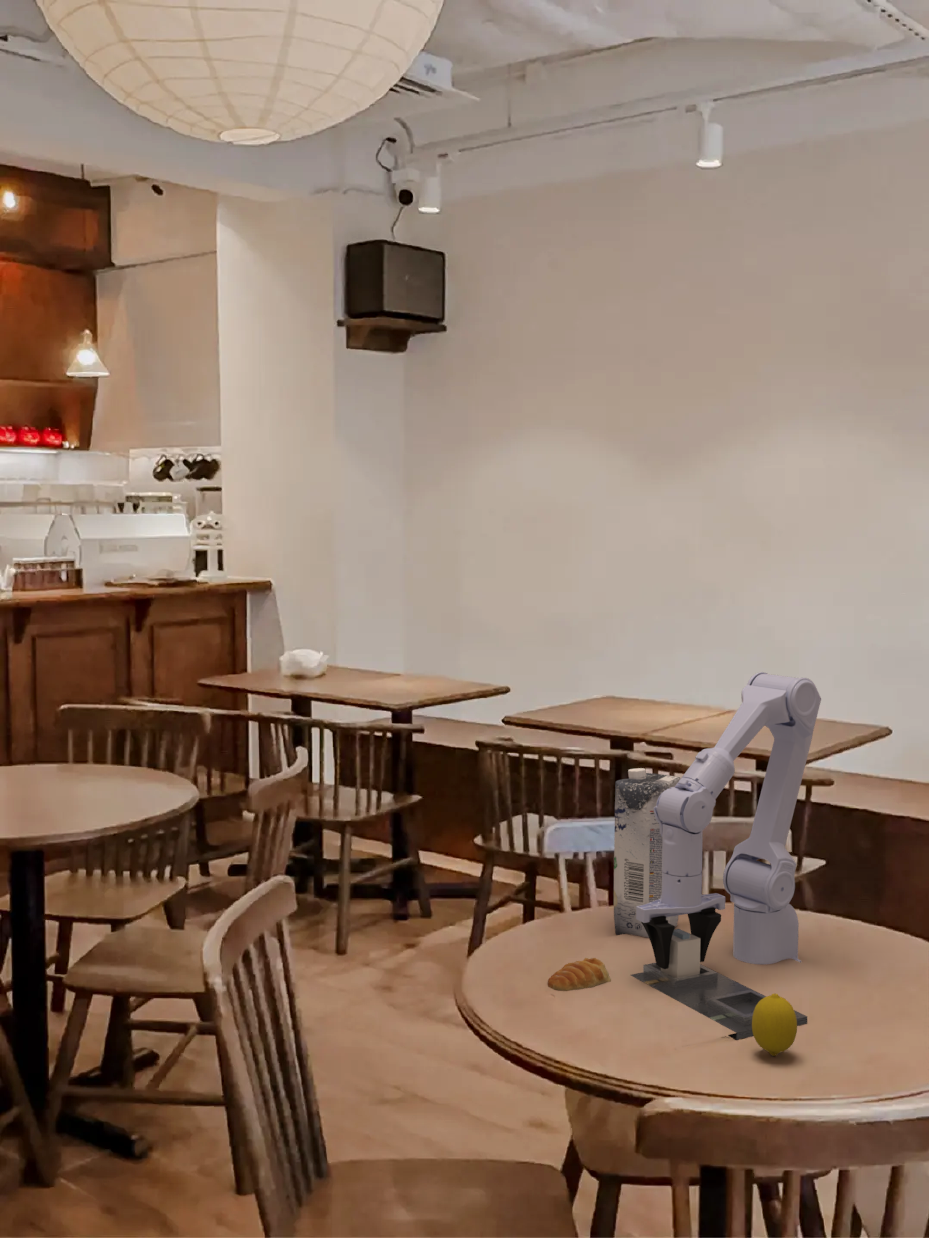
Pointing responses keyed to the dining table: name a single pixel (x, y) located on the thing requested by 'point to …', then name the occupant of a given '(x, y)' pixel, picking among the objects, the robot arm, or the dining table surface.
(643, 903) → the juice carton
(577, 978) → the pastry
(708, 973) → the panel
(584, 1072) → the dining table surface
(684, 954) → the plug
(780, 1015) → the lemon
